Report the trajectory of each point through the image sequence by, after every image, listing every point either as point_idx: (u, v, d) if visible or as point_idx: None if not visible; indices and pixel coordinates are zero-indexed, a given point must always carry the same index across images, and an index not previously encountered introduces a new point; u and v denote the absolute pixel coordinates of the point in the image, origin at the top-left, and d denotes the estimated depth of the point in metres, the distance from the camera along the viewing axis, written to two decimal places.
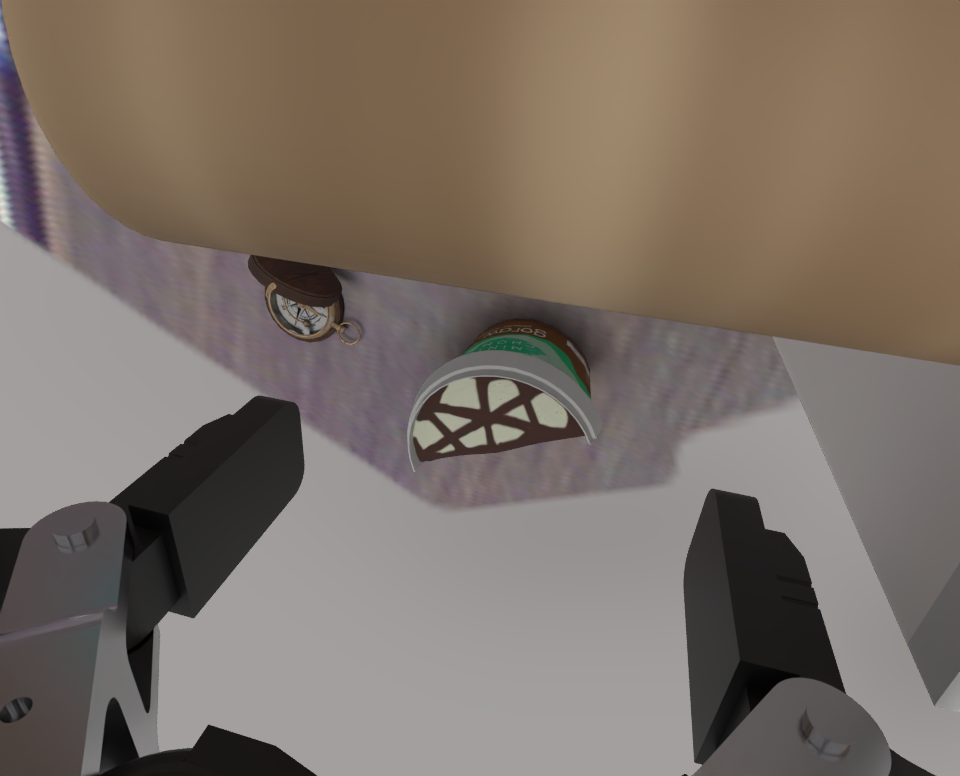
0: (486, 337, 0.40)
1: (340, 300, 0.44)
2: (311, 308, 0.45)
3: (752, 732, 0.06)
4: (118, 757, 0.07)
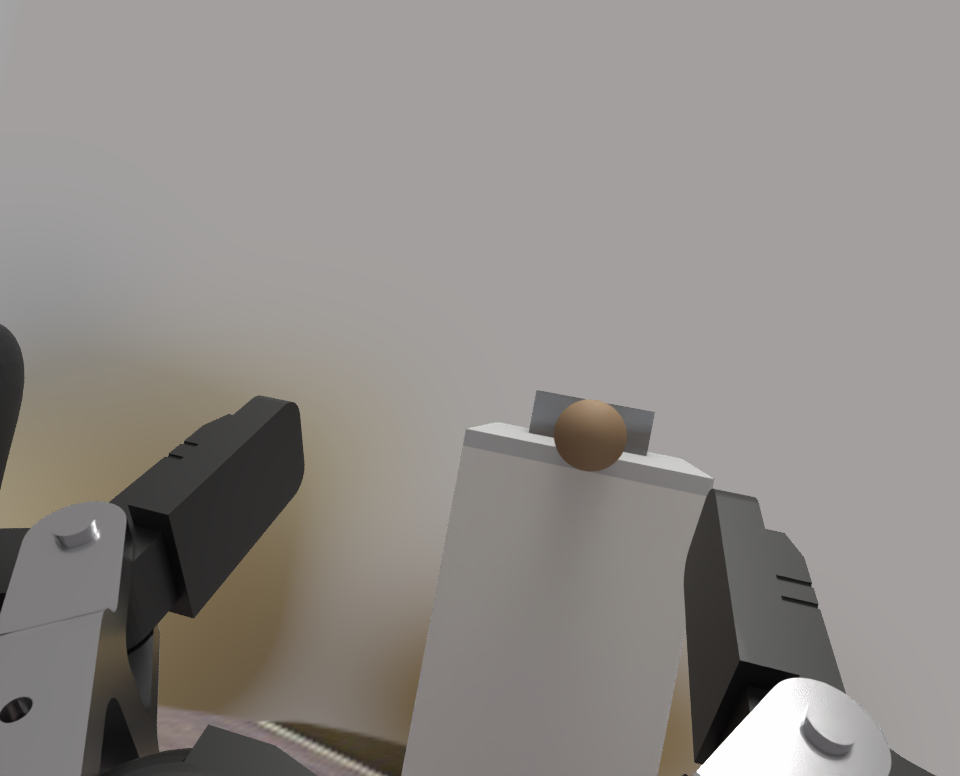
0: None
1: None
2: None
3: (752, 732, 0.06)
4: (118, 757, 0.07)
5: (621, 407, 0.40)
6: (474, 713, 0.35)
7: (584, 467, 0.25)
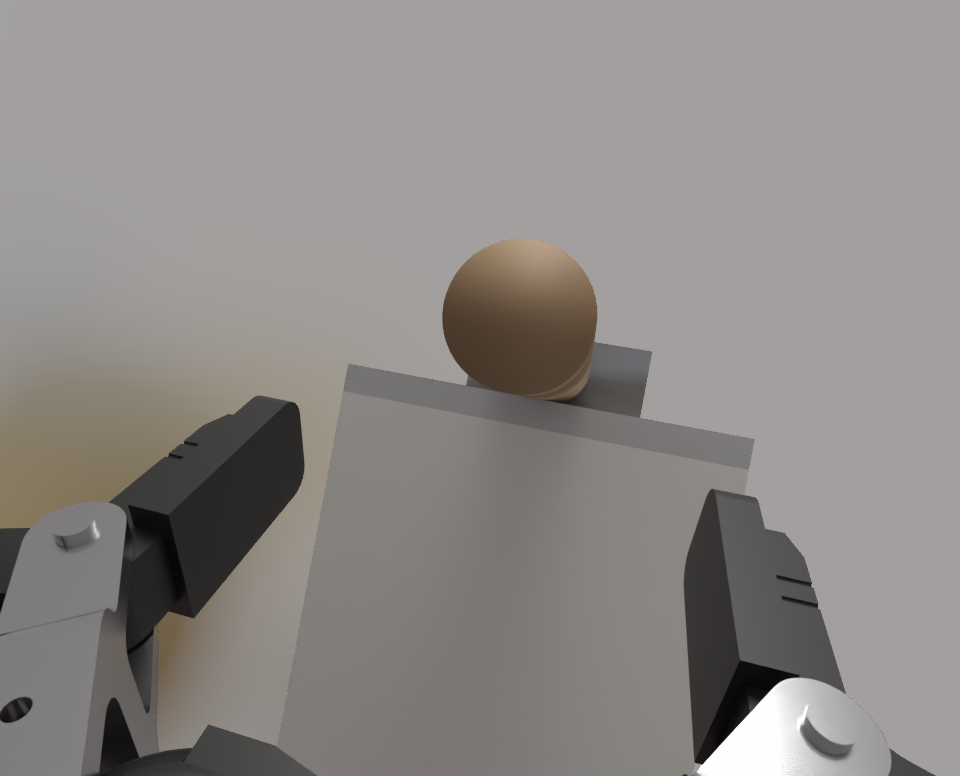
0: None
1: None
2: None
3: (752, 731, 0.06)
4: (118, 757, 0.07)
5: (602, 345, 0.27)
6: None
7: (506, 385, 0.12)
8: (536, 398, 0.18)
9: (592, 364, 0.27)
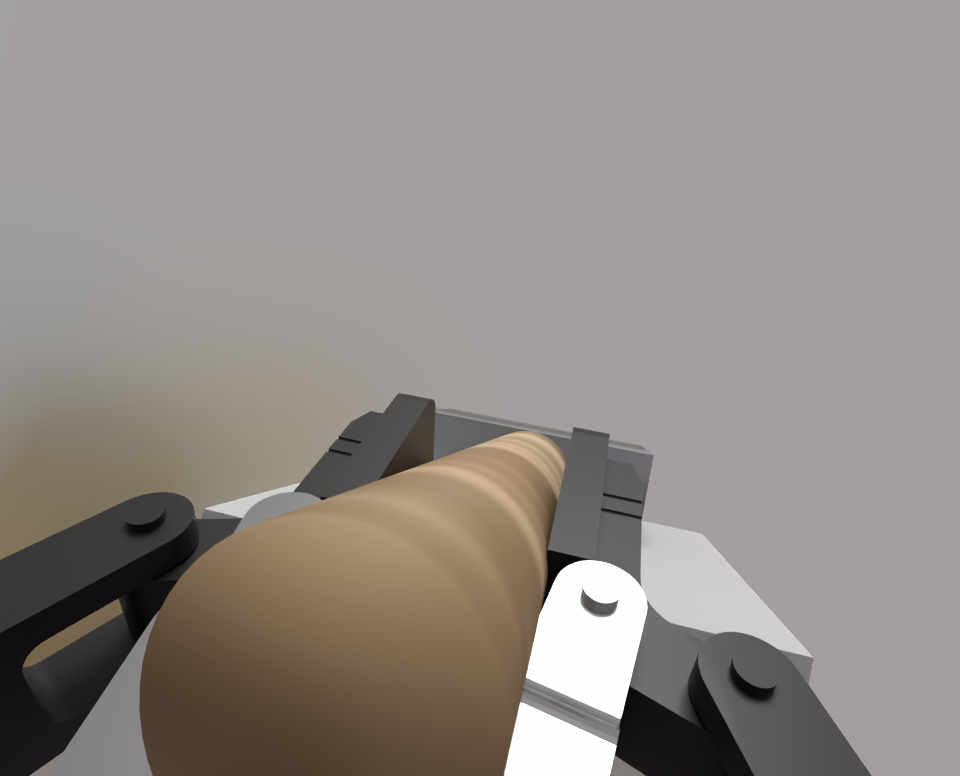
0: None
1: None
2: None
3: None
4: None
5: None
6: None
7: None
8: None
9: None
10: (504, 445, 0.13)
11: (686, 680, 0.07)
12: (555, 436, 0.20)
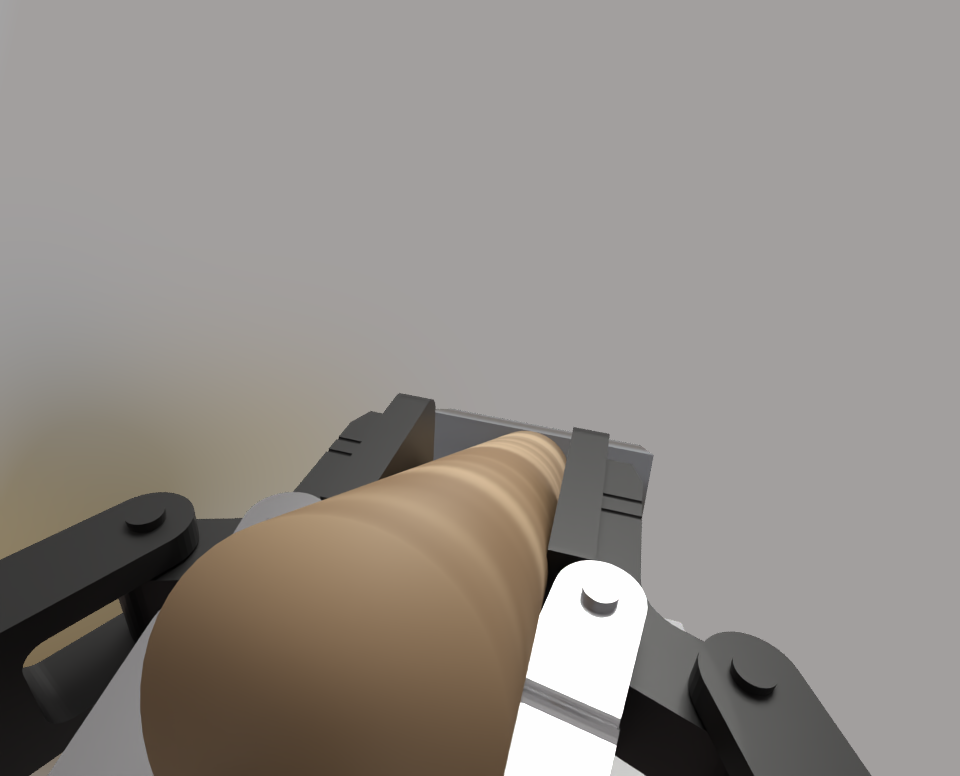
0: None
1: None
2: None
3: None
4: None
5: None
6: None
7: None
8: None
9: None
10: (504, 445, 0.13)
11: (686, 680, 0.07)
12: (555, 436, 0.20)
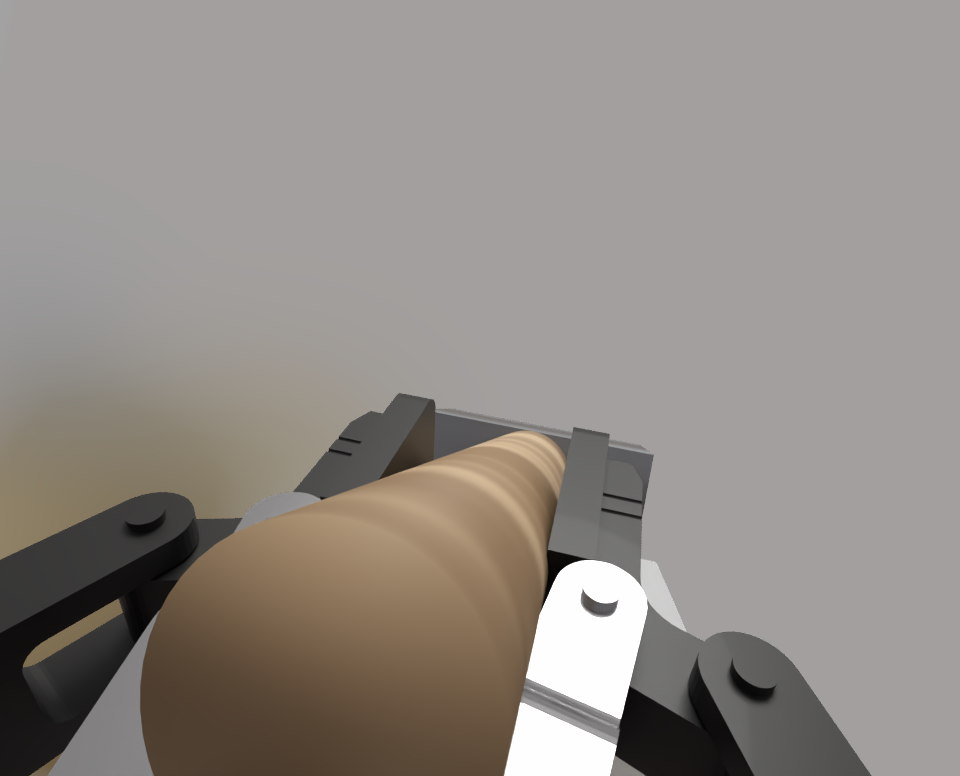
0: None
1: None
2: None
3: None
4: None
5: None
6: None
7: None
8: None
9: None
10: (504, 445, 0.13)
11: (686, 680, 0.07)
12: (555, 436, 0.20)
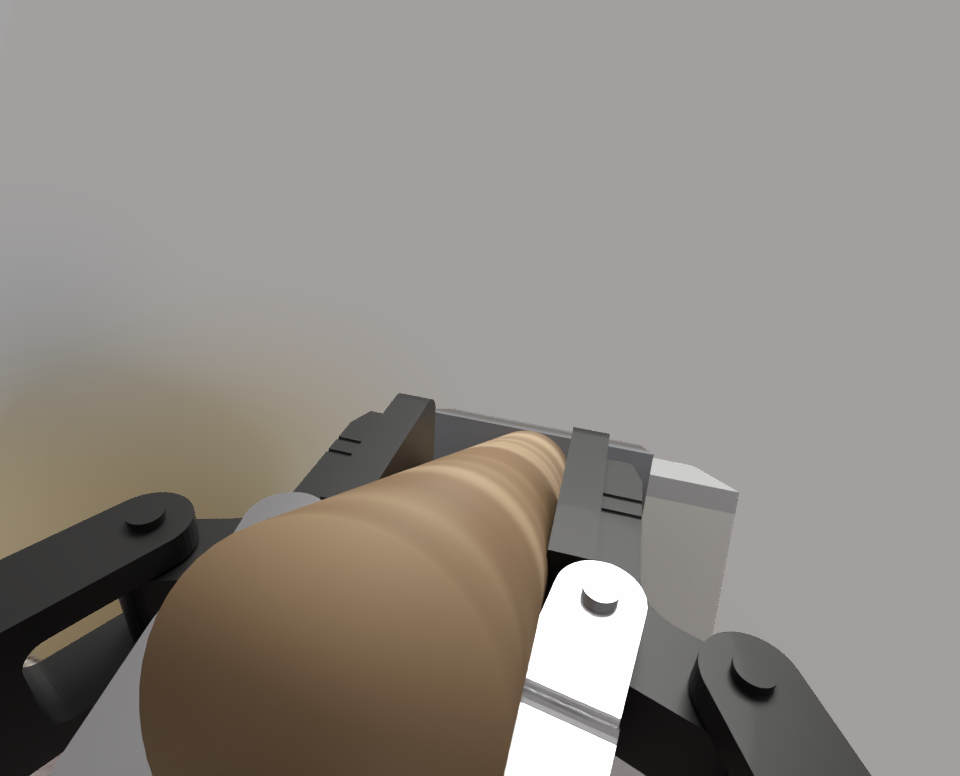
0: None
1: None
2: None
3: None
4: None
5: None
6: None
7: None
8: None
9: None
10: (504, 445, 0.13)
11: (686, 680, 0.07)
12: (555, 436, 0.20)
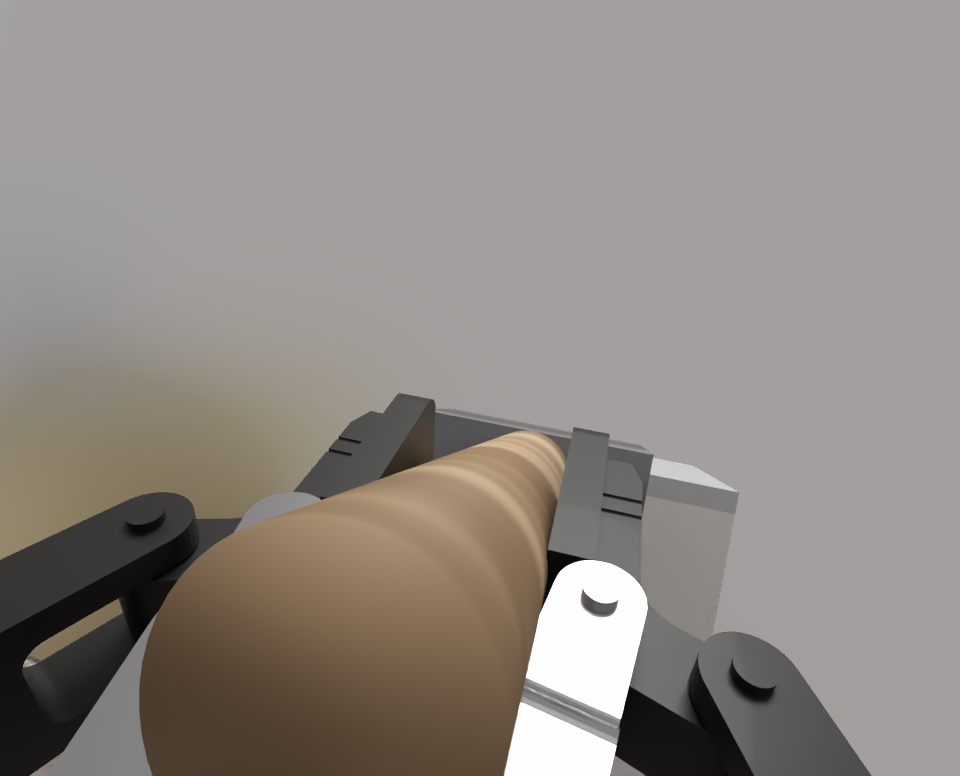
0: None
1: None
2: None
3: None
4: None
5: None
6: None
7: None
8: None
9: None
10: (504, 445, 0.13)
11: (686, 680, 0.07)
12: (555, 436, 0.20)
